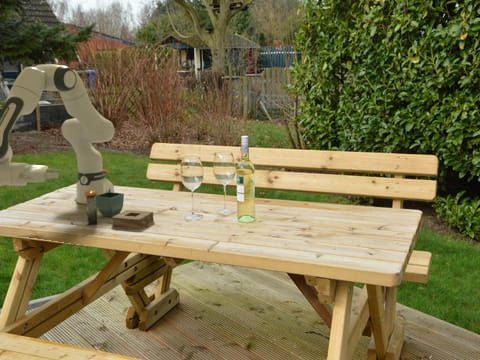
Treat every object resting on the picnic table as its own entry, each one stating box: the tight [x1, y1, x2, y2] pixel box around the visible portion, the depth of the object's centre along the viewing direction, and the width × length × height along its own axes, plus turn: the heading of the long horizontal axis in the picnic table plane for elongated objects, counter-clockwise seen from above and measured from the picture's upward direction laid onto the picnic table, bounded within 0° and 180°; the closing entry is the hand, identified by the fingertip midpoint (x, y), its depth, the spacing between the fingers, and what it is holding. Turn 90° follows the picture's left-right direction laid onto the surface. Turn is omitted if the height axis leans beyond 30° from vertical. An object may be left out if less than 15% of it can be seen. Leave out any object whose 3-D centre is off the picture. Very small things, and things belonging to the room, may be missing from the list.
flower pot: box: [96, 192, 125, 218], centre depth 228 cm, size 9×9×9 cm
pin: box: [84, 191, 98, 226], centre depth 215 cm, size 5×5×13 cm
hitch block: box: [111, 209, 154, 231], centre depth 215 cm, size 12×12×4 cm
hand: (59, 173), depth 209 cm, fingers open, 8 cm apart
